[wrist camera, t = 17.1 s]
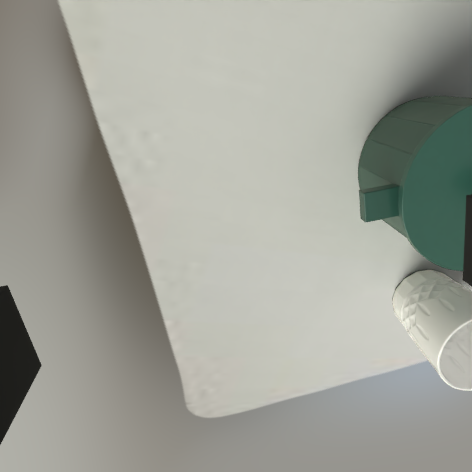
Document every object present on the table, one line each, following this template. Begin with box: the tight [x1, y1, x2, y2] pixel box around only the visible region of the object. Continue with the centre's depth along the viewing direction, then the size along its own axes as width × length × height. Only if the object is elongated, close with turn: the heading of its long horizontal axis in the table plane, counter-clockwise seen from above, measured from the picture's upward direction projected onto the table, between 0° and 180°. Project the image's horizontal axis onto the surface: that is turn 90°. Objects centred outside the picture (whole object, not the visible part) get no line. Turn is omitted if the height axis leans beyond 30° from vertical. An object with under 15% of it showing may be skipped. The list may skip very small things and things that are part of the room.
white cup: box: [392, 270, 472, 391], centre depth 40 cm, size 8×8×10 cm
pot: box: [358, 96, 472, 238], centre depth 35 cm, size 12×18×9 cm
